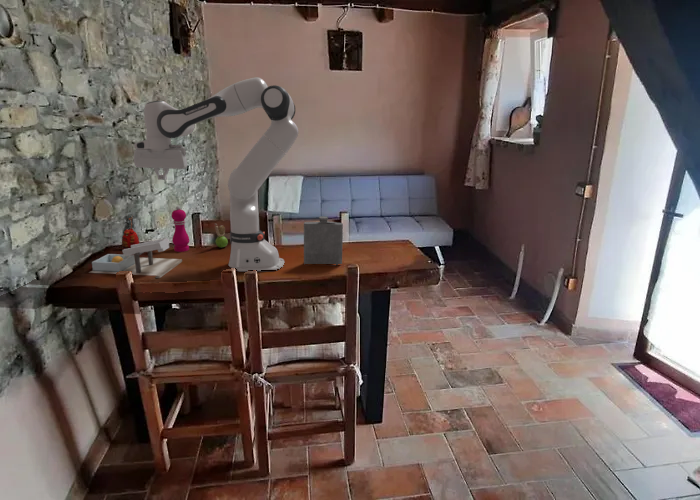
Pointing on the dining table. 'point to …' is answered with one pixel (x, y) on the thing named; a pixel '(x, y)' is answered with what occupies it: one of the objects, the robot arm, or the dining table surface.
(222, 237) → the snail figurine
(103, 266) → the grey open tray
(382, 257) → the dining table surface
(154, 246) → the lever
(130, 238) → the red clay folk toy
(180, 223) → the pepper mill
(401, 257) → the dining table surface
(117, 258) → the ball
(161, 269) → the base board
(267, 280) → the dining table surface
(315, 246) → the hip flask
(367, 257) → the dining table surface
